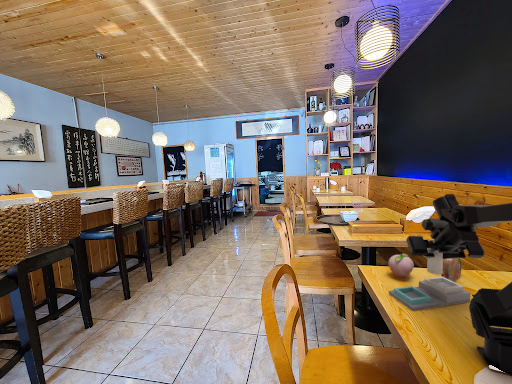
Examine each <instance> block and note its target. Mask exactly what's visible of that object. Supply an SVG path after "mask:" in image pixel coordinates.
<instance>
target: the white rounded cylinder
mask: <svg viewBox="0 0 512 384" xmlns="http://www.w3.org/2000/svg"><path fill="white" fill-rule="evenodd" d="M434 256H435V257H432V258H426V260H427V263H426V264H427V266H426V268H427V270H426V271H427V272H428V273H429V274H433V275H441V274H443V261H444V259H443V253H439V251H435V252H434Z"/></svg>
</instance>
